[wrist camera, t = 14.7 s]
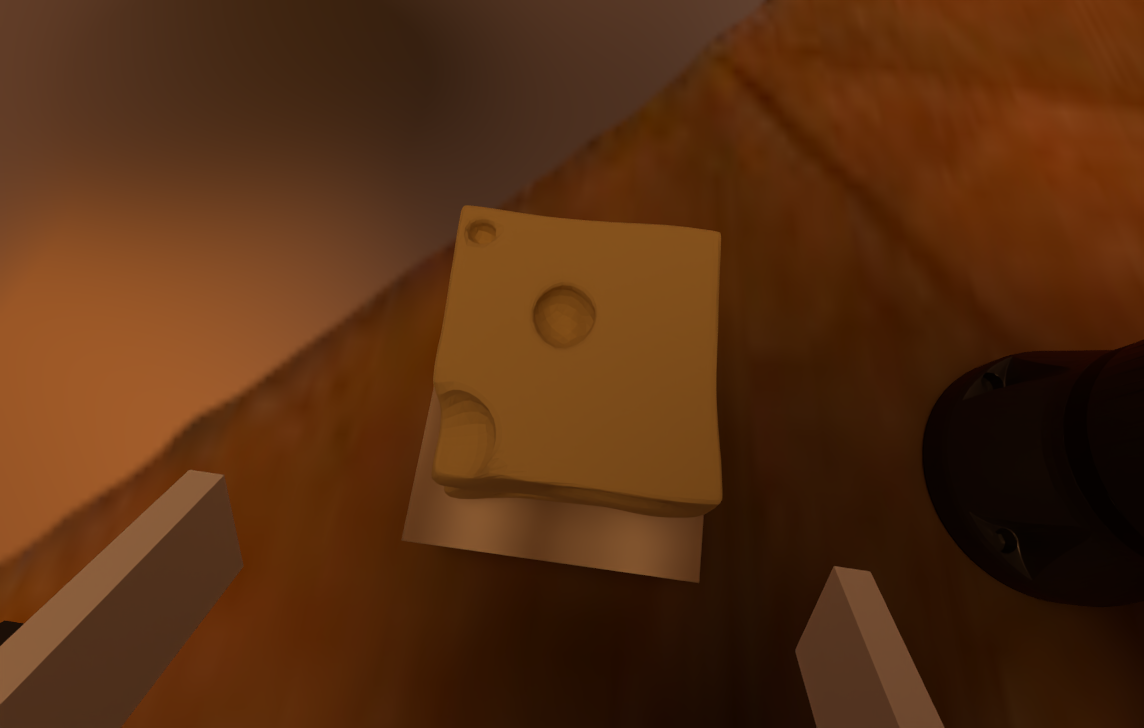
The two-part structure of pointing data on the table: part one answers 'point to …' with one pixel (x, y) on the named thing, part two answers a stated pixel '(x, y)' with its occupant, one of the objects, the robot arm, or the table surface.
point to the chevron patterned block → (549, 527)
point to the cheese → (580, 364)
